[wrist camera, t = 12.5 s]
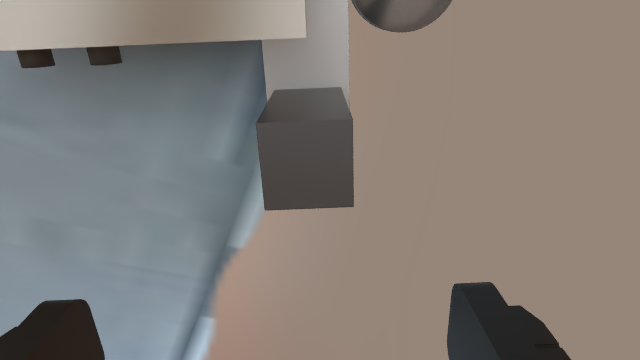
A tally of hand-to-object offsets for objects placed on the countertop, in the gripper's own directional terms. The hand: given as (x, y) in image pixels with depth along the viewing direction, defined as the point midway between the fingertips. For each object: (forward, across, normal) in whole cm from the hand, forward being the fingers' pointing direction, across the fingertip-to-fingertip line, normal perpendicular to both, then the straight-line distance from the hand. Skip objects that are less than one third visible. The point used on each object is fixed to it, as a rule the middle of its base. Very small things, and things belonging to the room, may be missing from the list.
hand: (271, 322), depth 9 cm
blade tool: (+18, -1, -5) cm, 19 cm away
